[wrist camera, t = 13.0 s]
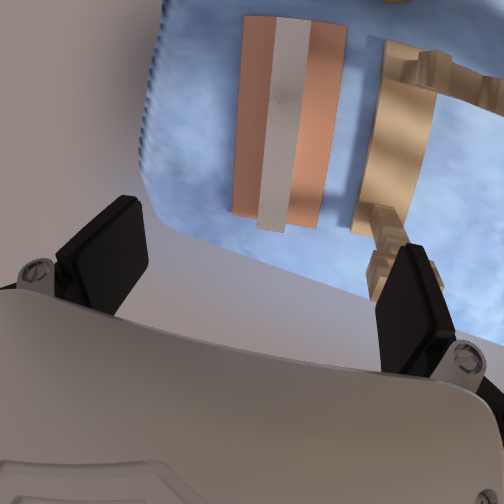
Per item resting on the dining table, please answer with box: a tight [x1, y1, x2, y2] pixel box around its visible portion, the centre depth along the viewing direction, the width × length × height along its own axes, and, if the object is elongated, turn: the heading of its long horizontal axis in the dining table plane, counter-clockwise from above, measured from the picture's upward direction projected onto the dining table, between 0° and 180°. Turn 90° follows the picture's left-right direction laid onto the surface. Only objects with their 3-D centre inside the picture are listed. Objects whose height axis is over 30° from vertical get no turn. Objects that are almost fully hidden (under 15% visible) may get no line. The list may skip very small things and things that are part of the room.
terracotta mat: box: [232, 15, 347, 228], centre depth 30 cm, size 23×10×1 cm, turn 176°
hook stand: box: [350, 39, 504, 302], centre depth 23 cm, size 22×6×14 cm, turn 176°
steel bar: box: [257, 17, 311, 233], centre depth 28 cm, size 22×3×3 cm, turn 176°
